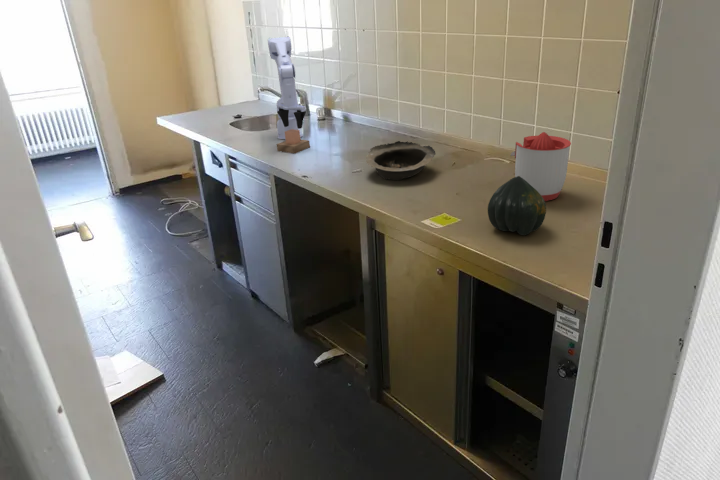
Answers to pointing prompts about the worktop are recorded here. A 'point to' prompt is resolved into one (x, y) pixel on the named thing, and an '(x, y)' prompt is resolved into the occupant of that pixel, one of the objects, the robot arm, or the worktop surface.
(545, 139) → the citrus juicer
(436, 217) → the worktop surface
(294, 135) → the terracotta cube
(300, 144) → the walnut block
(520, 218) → the squash
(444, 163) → the worktop surface
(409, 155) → the stone bowl
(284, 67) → the robot arm
